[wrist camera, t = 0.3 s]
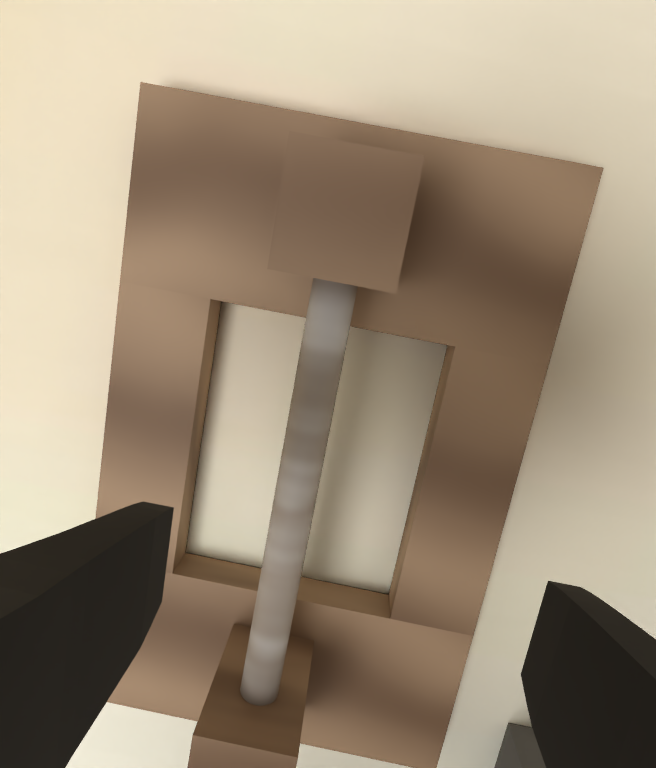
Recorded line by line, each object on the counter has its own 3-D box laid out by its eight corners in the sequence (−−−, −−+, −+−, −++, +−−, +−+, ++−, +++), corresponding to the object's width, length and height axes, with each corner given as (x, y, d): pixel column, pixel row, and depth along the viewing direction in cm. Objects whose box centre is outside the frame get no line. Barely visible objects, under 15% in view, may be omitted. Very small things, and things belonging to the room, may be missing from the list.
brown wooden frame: (430, 739, 23) (455, 922, 17) (95, 668, 23) (-6, 819, 17) (584, 175, 18) (701, 128, 12) (158, 96, 18) (49, 10, 12)
